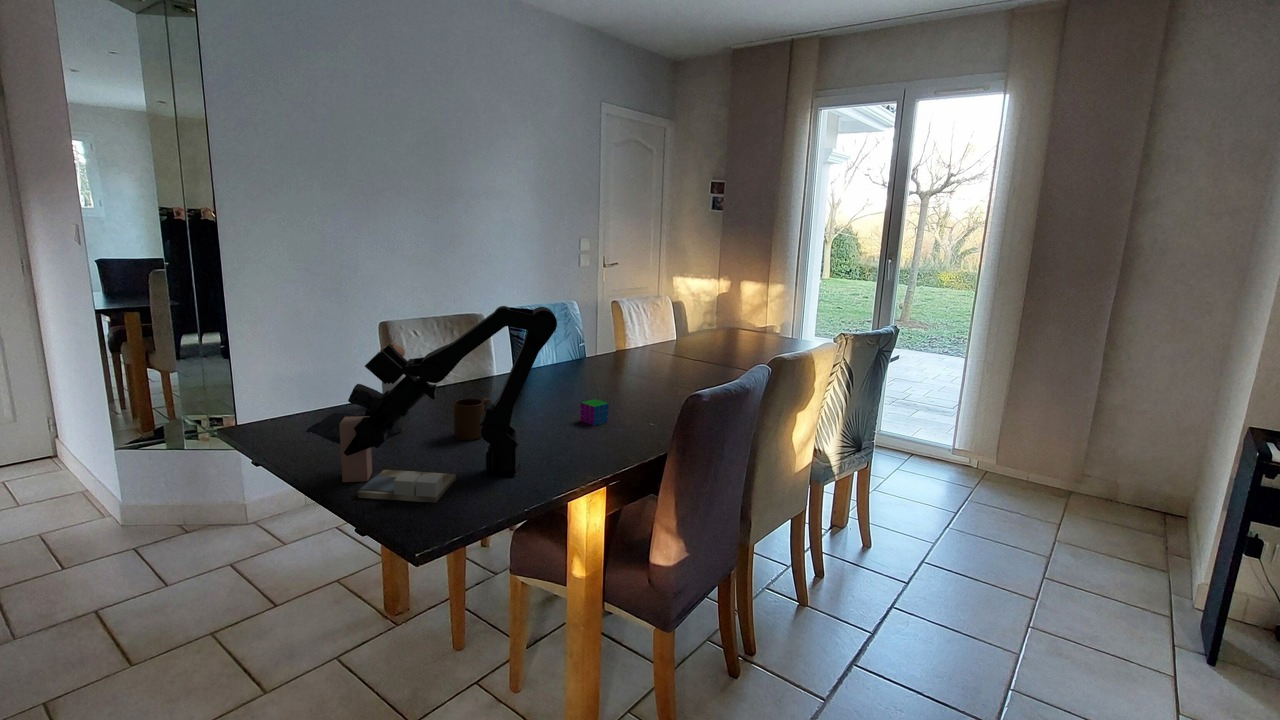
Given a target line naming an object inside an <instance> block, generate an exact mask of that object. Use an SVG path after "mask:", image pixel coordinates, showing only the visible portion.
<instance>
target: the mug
mask: <svg viewBox="0 0 1280 720" xmlns="http://www.w3.org/2000/svg"><path fill="white" fill-rule="evenodd" d="M487 402H490V403H492V402H491V400H490V399H489V398H488V397H483V398H481V399H479V398H461V399H460V398H459V399H457V400H455V401H454V402H453V433H454V434H453V435H454V438H456V439H457V440H460V441H475V440H479V439H482V435H481V426H480V418H481V415H482V414H483V413H484V411H485V409H486V405H487Z"/></svg>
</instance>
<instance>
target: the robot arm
mask: <svg viewBox="0 0 1280 720" xmlns="http://www.w3.org/2000/svg"><path fill="white" fill-rule="evenodd" d="M506 327H510V328H514V329H519V330H524V331H525V333H524V339H523V343H522V345H521V347H520V350H519V351H518V354H517V357H516V359H515V360H514V363H513V365H512V367H511V369H510V372H509V373H508V375H507V378H506V380H505V383H504V384H503V386H502V389H501V391H500V393H499V395H498V397H497V399H496V400H495V401H494V402H493V403H492V402H491V403H490V402H487V405H486V409H485V411H484V413H483V414H482V415H481V418H480V426H481V435H482V437H481V439H483V441H485V442H486V443H487V444H489V445H488V446H487V451H486V453H485V470H486V472H485V475H486V476H492V477H507V478H508V477H511V478H514V477H515V476H516V475H517V473H518V471H519V470H520V468H521V464H519V463H520V462H519V456H520V455H519V453H520V452H519V450H520V448H519V447H520V446H519V445H520V443H518V439H517V430H516V429H515V428H513V427H512V426H511V420H512V416H513V411H514V407H515V405H516V403H517V400H518V398H519V396H520V394H521V392H522V389H524V388H523V387H524V385H525V383H526V381H527V379H528V376H529V375H530V373H531V369H532V368H533V366H534V363H535V361H536V359H537V356H538V354H539V352H540V351H541V350H542V349H543V347H544V346H545V345H546V344H547V343H548V342H549V340H550V338H551V337H553V334H554V333H555V332H556V330H557V327H558V321H557V318H556V316H555V314H554V312H553V311H552V310H551V309H550V308H548V307H546V306H539V307H535V308H533V309H530V308H522V307H521V308H520V307H512V306H511V307H510V306H507V305H501V306H498V307H497V308H496V309H495V310H494V311H493V312H492V313H491V314H489V315H488V316H487V317H486V318H484V319H482V320H481V321H480V322H479V323H478V324H475V325H474V326H473V327H471V328H470V329H469V330H467V331H466V332H465V333H464V334H462V335H461V336H459V337H458V338H456V339H455V340H454V341H452V342H450V343H448V344H446V345H443V346H441V347H439V348H437V349H435V350H432V351H431V352H429V353H427V354H426V355H425V356H423V357H415V358H409V359H408V360H407V359H406V358H405V357H404V356H401V355H400V354H399V353H398V352H397V351H396V350H395V348H394V347H393V346H392V345H391V343H388V344H387V345H385V346H386V347H385V346H384V347H385V348H384V349H383V350H382V351H381V352H380V351H379V352H377V353H376V354H375V355H374V356H373V357H372V358H371V359H370V360H369V361H367V363H366V364H365V365H364V367H365V368H366V369H367V370H368V371H369V372H370V373H372V374H373V376H375V377H376V378H378V380H380V381H381V383H382V382H383V383H384V384H386V383H388V384H390V383H392V384H394V383H395V382H396V381H397V380H398V379H399V378H400V377H401V376H402V375H403V374H404V378H403V379H402V380H401V381H400V382H399V383H398V384H397V385H396V386H395V387H394V388H393V389H391V390H389V391H388V390H387V391H386V392H385V393H384V394H383V393H382V392H380V391H379V390H376V389H374V388H372V387H369V386H367V385H365V384H361V383H357V384H356V385H354V387H353V389H352V390H351V392H350V394H349V397H348V400H347V402H349V403H350V404H352V405H357V406H358V407H362V408H364V409H366V410H365V412H364V414H365V416H370V417H363V418H362V419H361V420H360V421H359V422H358V423H357V424H356V426H355V427H354V430H355V431H356V436H355V437H354V439H353V440H352V441H351V443H350V444H349V446H348V447H347V448H346V450H345V451H344V454H345V455H347V456H349V455H351V454H354V453H357V452H360V451H362V450H365V449H368V448H371V449H372V448H377V449H379V448H380V447H381V445H383V444H384V443H385V442H386V440H387V439H388V438H387V431H386V430H387V428H388V429H389V430H390V429H392V428H393V426H395V424H396V423H397V422H398V421H399V420H401V418H403V417H405V416H406V415H408V413H409V411H410V410H411V409H412V408H413V407H414V406H415V405H416V404H418V402H419V401H421V399H422V398H424V396H425V395H427V396H428V397H429V398H430V399H431V400H435V399H436V396H437V384H439V383H440V382H442V381H443V380H445V379H446V377H447V376H448V375H449V374H450V373H451V372H452V371H453V370H454V369H455V368H456V366H457V365H458V364H459V363H460V362H461V361H462V359H464V358H465V357H466V356H467V355H468V354H470V353H471V352H473V351H474V350H475V349H477V348H478V347H479V346H481V345H482V344H484V343H485V342H486V341H487V340H489V339H490V338H491V337H493V336H494V335H495V334H498V332H500V331H501V330H502V329H504V328H506ZM386 438H387V439H386Z"/></svg>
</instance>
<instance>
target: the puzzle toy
mask: <svg viewBox="0 0 1280 720" xmlns="http://www.w3.org/2000/svg"><path fill="white" fill-rule="evenodd" d="M609 404H610V403H608V402H605V401H602V400H598V399H596V398H594V399H591V400H585V401H582V402H580V415H579V416H580V422H581V421H582V423H584V422H585V424H587V423H589V424H588V425H590V424H592V425H591V426H593V425H595V426H598V425H601V424H600V423H603V422H606V423H608V422H609V406H610V405H609ZM607 421H608V422H607ZM597 424H598V425H597ZM603 424H604V423H603Z"/></svg>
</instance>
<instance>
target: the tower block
mask: <svg viewBox="0 0 1280 720" xmlns="http://www.w3.org/2000/svg"><path fill="white" fill-rule="evenodd" d="M363 417H370V416H358V415H357V417H344V419H343V420H342V421H341V422H340V424H339V427H340V443H339V444H340V461H341V477H342V479H341V480H342V481H341V482H342V483H351V482H352V483H355V482H356V483H357V482H358V483H359V482H369V481H370V478H371V475H372V474H373V461H372V459H373V457H372V447H371V448H368V449H365V450H362V451H360V452H357V453H354V454H351V455H349V456H347V455H345V454H344V451H345V450H346V448H347V447H348V446H349V444H350V443H351V441H352V440H353V439H354V437H355V436H356V431H355V430H354V427H355V426H356V424H357V423H358V422H359V421H360V420H361V419H362V418H363Z"/></svg>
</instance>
